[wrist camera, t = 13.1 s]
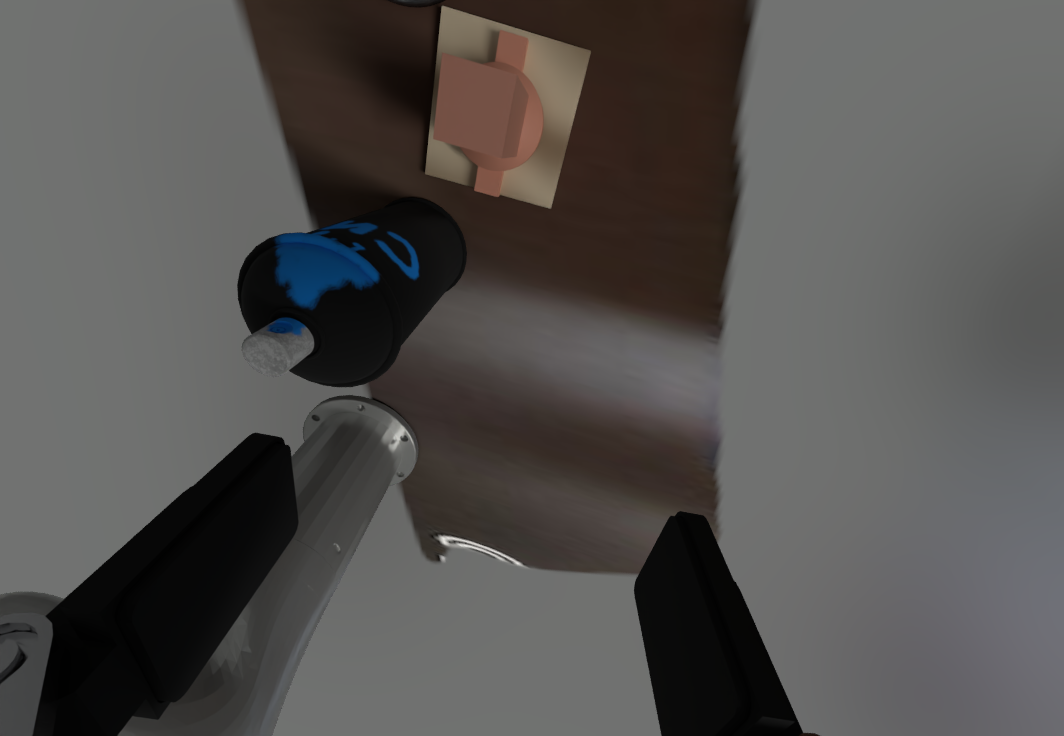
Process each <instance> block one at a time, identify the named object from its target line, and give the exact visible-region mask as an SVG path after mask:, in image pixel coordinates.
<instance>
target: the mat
mask: <svg viewBox="0 0 1064 736" xmlns="http://www.w3.org/2000/svg"><path fill="white" fill-rule="evenodd" d="M500 30H503V31H506V32H509V33H513V34H516V35H519V36H522V37H526V38H528V41H529V43H528V49H527V54H526V59H525V64H524V69H523V73H524V74H525V75H526V76H527V77H528V78H529V80H530V81H531V82H532V84H533V86H534V87H535V89H536V91H537V93H538V96H539V98H540V101H541V104H542V108H543V114H544V128H543V134H542V137H541V140H540V143H539V145H538V147H537V149H536V151H535V152H534V154H533V155H532V156H531V157H530V158H529V159H528V160H527V161H526V162H525V163H523V164H522V165H520V166H518V167H516V168H513V169H511V170H506V171H504V174H503V179H502V185H501V190H500V195H503V196H507V197H510V198H514V199H517V200H521V201H525V202H528V203H532V204H536V205H539V206H543V207H546V208H550V209H551V206H552V202H553V198H554V194H555V190H556V187H557V183H558V179H559V175H560V171H561V167H562V163H563V159H564V155H565V151H566V147H567V143H568V139H569V136H570V132H571V128H572V124H573V120H574V116H575V112H576V108H577V104H578V100H579V96H580V92H581V88H582V84H583V81H584V77H585V73H586V69H587V65H588V61H589V57H590V53H591V51H589V50H586V49H583V48H579V47H576V46H573V45H570V44H566V43H563V42H560V41H556V40H553V39H550V38H547V37H543V36H540V35H537V34H533V33H530V32H527V31H524V30H520V29H517V28H514V27H511V26H507V25H504V24H501V23H497V22H494V21H491V20H488V19H484V18H481V17H478V16H475V15H471V14H468V13H465V12H461V11H458V10H455V9H452V8H448V7H445V6H442V9H441V19H440V29H439V39H438V49H437V59H436V69H435V79H434V89H433V99H432V109H431V119H430V129H429V139H428V149H427V159H426V169H425V174H427V175H431V176H434V177H438V178H442V179H445V180H449V181H452V182H456V183H460V184H463V185H467V186H471V187H474V188H475V183H476V177H477V170H478V165H476V164H475V163H473V162H472V161H471V160H470V159H469V158H468V157H467V156H466V155H465V154H464V153H463V151H462V150H461V148H460V147H459V146H456V145H452V144H449V143H445V142H442V141H438V140H434V139H433V135H434V126H435V116H436V107H437V97H438V88H439V78H440V69H441V59H442V52H443V53H446V54H449V55H453V56H456V57H459V58H463V59H466V60H469V61H473V62H476V63H479V64H484V63H488V62H495V58H496V52H497V46H498V40H499V33H500Z"/></svg>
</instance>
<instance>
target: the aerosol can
mask: <svg viewBox="0 0 1064 736" xmlns="http://www.w3.org/2000/svg"><path fill="white" fill-rule="evenodd" d="M466 256H467V251H466V244H465V240H464V237H463V234H462V232H461V230H460V228H459V226H458V225H457V223H456V222H455V221H454V219H453V218H452V217H451V216H450V215H449V214H448V213H447V212H446V211H445V210H444V209H443V208H441V207H439V206H438V205H436V204H434V203H433V202H430V201H427V200H424V199H420V198H402V199H399V200H396V201H393V202H392V203H390V204H388V205H387V206H385V207H384V208H383V209H380V210H377V211H374V212H371V213H367V214H364V215H361V216H358V217H355V218H352V219H349V220H346V221H342V222H339V223H336V224H333V225H330V226H327V227H324V228H321V229H318V230H314V231H311V232H308V233H285V234H281V235H278V236H275V237H271V238H269V239H267V240H266V241H264V242H262V243H261V244H259V245H258V246H256V247H255V248H254V250H253V251H252V252H251V253H250V254H249V255H248V256H247V257H246V259H245V261H244V263H243V265H242V267H241V270H240V273H239V279H238V285H237V286H238V301H239V304H240V308H241V312H242V315H243V317H244V320H245V322H246V324H247V326H248V328H249V330H250V332H251V334H252V335H250V336H248V337H247V338H246V339H245V340H244V342H243V344H242V352H243V355H244V358H245V360H246V361H247V362H248V364H249V365H250V366H251V367H252V368H253V369H255V370H256V371H258V372H259V373H262V374H264V375H267V376H272V377H277V376H281V375H283V374H285V373H286V372H288V371H290V372H292V373H294V374H295V375H297V376H300V377H302V378H304V379H306V380H308V381H311V382H315V383H318V384H321V385H326V386H332V387H353V386H358V385H363V384H366V383H368V382H370V381H373V380H375V379H377V378H378V377H380V376H381V375H382V374H384V373H385V372H386V371H387V370H388V369H389V368H390V367H391V365H392V364H393V363H394V362H395V360H396V357H397V355H398V353H399V351H400V347H401V345H402V344H403V343H404V341H405V340H406V339H407V338H408V337H409V335H410V334H411V333H412V332H413V331H414V329H415V328H416V327H417V326H418V324H419V323H420V322H421V321H422V320H423V318H424V317H425V316H426V315H427V313H428V312H429V311H430V310H431V309H432V307H433V306H434V305H435V304H436V303H437V301H438V300H439V299H440V298H441V296H442V295H443V294H444V293H445V292H446V291H448V290H450V289H451V288H452V287H453V286H454V285H455V284H456V283H457V282H458V281H459V279H460V278H461V276H462V274H463V272H464V269H465V265H466Z"/></svg>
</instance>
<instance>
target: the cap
mask: <svg viewBox="0 0 1064 736" xmlns="http://www.w3.org/2000/svg"><path fill="white" fill-rule="evenodd" d="M528 43H529V41H528V38H526V37H522V36H519V35H516V34H513V33H509V32H506V31H503V30H500V33H499V40H498V46H497V52H496V58H495V62H488V63H484V64H479V63H476V62H473V61H469V60H466V59H463V58H459V57H456V56H453V55H449V54H446V53H443V52H442V59H441V69H440V78H439V88H438V97H437V107H436V116H435V126H434V135H433V139H434V140H438V141H442V142H445V143H449V144H452V145H456V146H459V147H460V148H461V150H462V151H463V153H464V154H465V155H466V156H467V157H468V158H469V159H470V160H471V161H472V162H473V163H475V164H476V165H478V170H477V177H476V183H475V189H474V191H477V192H481V193H485V194H488V195H492V196H495V197H498V196H499V195H500V190H501V185H502V179H503V174H504V171H506V170H511V169H513V168H516V167H518V166H520V165H522V164H523V163H525V162H526V161H527V160H528V159H529V158H530V157H531V156H532V155H533V154H534V152H535V151H536V149H537V147H538V145H539V143H540V140H541V137H542V134H543V128H544V114H543V108H542V104H541V101H540V98H539V96H538V93H537V91H536V89H535V87H534V86H533V84H532V82H531V81H530V80H529V78H528V77H527V76H526V75H525V74H524V73H523V69H524V64H525V59H526V54H527V49H528Z"/></svg>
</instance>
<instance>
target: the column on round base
mask: <svg viewBox="0 0 1064 736" xmlns="http://www.w3.org/2000/svg"><path fill="white" fill-rule="evenodd" d="M388 1H390V2H393V3H396V4H398V5H402V6H407V7H427V6H432V5H435V4H438V3H441V2H443V1H445V0H388Z"/></svg>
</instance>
